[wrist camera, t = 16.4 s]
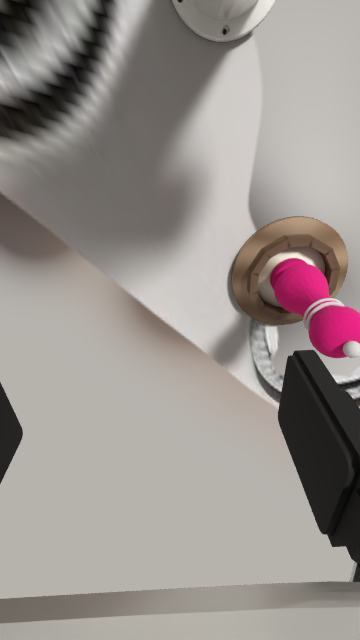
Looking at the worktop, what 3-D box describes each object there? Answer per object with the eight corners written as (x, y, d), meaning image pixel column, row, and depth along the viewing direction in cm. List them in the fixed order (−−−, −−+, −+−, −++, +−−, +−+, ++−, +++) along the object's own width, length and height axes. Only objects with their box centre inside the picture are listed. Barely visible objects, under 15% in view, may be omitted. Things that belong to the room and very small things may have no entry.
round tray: (234, 219, 45) (238, 225, 42) (356, 212, 45) (368, 217, 42) (229, 324, 54) (232, 334, 52) (331, 318, 54) (339, 327, 52)
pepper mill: (296, 302, 51) (362, 388, 34) (258, 288, 49) (306, 370, 32) (322, 263, 47) (409, 337, 30) (282, 247, 46) (350, 315, 29)
